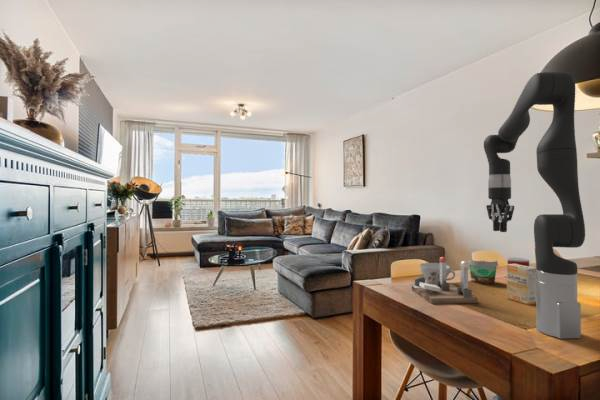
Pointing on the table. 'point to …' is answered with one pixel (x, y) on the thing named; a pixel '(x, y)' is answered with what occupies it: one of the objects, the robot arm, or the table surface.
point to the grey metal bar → (464, 276)
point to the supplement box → (521, 283)
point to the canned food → (518, 261)
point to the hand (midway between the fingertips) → (499, 231)
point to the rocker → (430, 287)
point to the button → (419, 280)
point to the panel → (445, 294)
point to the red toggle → (442, 270)
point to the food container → (483, 271)
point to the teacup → (434, 272)
